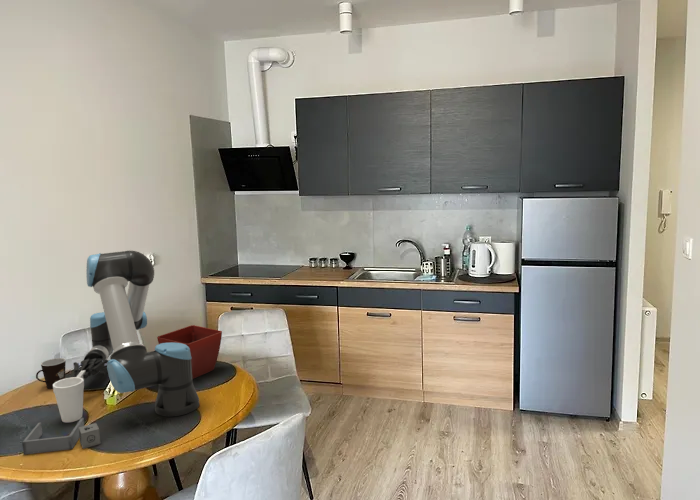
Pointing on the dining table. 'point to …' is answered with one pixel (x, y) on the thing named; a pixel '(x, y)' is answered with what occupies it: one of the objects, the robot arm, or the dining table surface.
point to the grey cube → (89, 435)
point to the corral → (50, 440)
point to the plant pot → (197, 346)
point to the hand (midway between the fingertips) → (78, 380)
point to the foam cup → (69, 398)
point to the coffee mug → (52, 371)
